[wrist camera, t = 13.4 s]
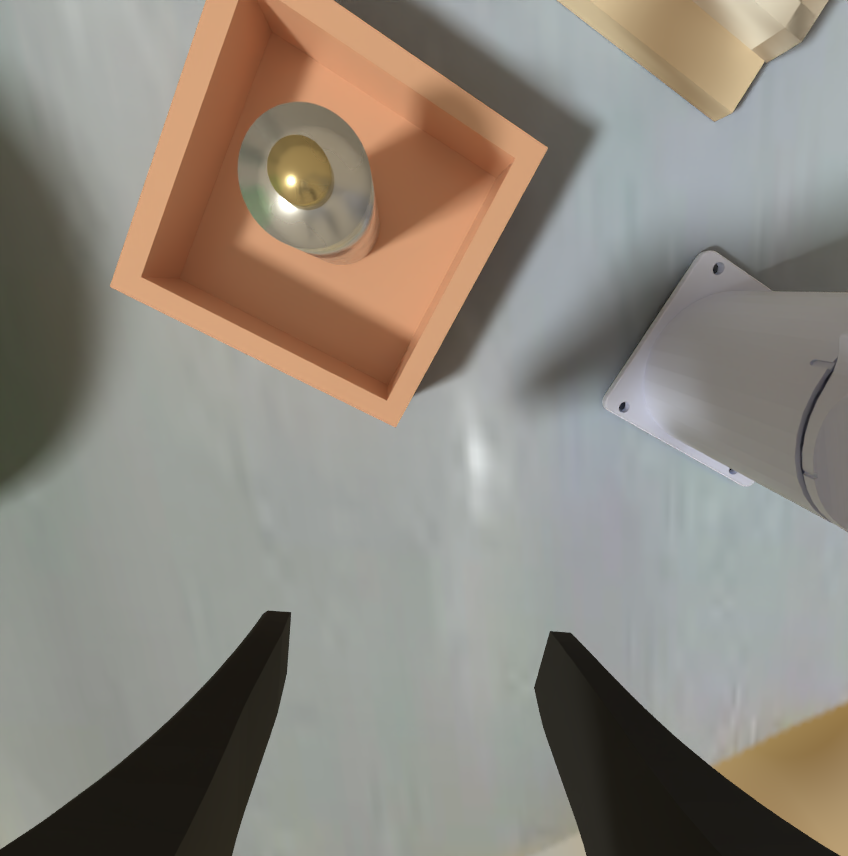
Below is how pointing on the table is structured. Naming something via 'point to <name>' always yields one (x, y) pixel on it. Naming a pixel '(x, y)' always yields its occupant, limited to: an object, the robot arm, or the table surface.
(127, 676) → the table surface
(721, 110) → the wooden board with compartments
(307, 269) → the dish
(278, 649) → the robot arm
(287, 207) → the cell
